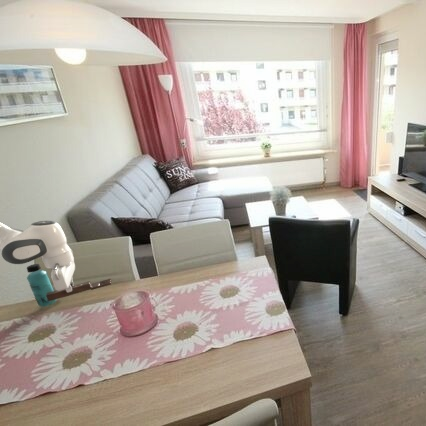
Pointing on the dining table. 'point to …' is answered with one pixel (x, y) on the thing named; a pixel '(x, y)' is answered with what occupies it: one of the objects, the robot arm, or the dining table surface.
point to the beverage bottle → (39, 284)
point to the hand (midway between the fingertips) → (70, 289)
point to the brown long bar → (77, 289)
